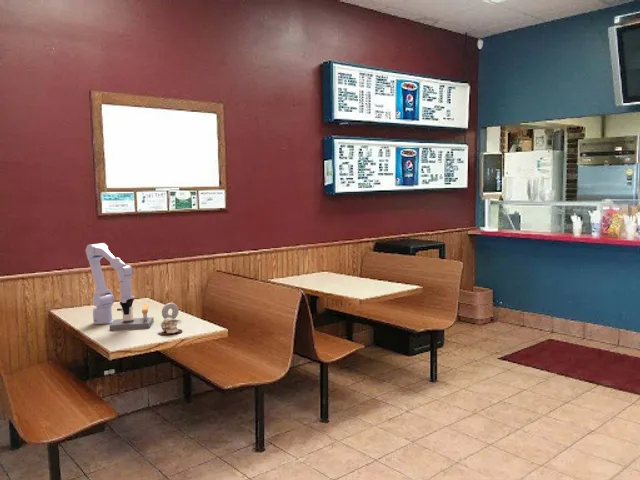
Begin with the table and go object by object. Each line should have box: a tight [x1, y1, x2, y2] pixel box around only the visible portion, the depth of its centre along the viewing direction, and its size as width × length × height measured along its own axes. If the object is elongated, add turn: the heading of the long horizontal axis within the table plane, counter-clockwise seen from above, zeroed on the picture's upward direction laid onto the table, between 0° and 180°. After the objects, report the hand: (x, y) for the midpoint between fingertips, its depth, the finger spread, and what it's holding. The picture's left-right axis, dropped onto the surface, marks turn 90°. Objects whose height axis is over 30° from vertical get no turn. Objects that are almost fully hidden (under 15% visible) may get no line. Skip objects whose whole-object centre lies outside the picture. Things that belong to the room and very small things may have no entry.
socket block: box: [109, 312, 155, 331], centre depth 295 cm, size 20×14×7 cm
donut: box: [161, 302, 180, 320], centre depth 305 cm, size 10×4×10 cm, turn 135°
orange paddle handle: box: [141, 303, 149, 314], centre depth 302 cm, size 16×3×2 cm, turn 15°
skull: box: [157, 318, 183, 335], centre depth 279 cm, size 12×10×10 cm
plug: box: [116, 306, 134, 321], centre depth 294 cm, size 8×5×6 cm, turn 97°
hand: (127, 313), depth 295 cm, fingers closed on plug, 5 cm apart
